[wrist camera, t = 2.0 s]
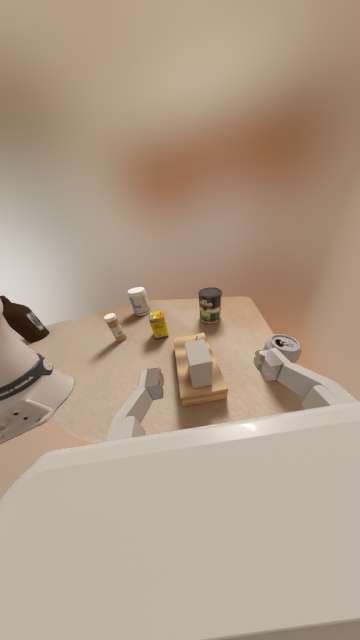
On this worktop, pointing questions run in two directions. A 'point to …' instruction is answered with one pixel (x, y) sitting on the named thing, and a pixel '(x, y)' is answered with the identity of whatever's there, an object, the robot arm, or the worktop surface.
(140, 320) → the worktop surface
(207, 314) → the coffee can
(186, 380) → the plank
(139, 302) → the supplement tub
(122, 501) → the robot arm
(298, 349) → the can
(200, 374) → the block
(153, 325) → the supplement box
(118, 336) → the sprinkles bottle
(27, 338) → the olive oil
